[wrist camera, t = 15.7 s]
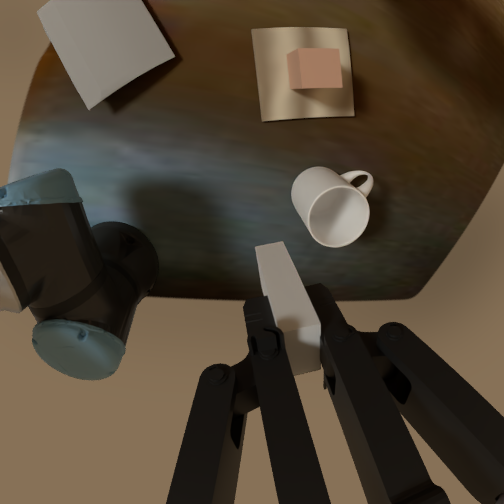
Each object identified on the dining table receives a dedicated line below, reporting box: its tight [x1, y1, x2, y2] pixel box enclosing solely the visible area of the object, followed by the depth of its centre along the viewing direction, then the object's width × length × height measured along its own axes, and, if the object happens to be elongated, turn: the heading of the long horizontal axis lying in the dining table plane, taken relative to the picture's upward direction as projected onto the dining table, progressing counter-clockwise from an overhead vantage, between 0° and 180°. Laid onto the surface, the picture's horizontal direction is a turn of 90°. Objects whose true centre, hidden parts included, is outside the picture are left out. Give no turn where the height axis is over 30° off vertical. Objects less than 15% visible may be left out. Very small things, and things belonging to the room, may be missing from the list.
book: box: [37, 0, 175, 110], centre depth 31 cm, size 15×23×4 cm, turn 26°
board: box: [251, 27, 354, 121], centre depth 38 cm, size 14×14×1 cm
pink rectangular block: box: [286, 48, 343, 89], centre depth 35 cm, size 5×5×7 cm
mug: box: [291, 167, 373, 247], centre depth 43 cm, size 9×12×11 cm
